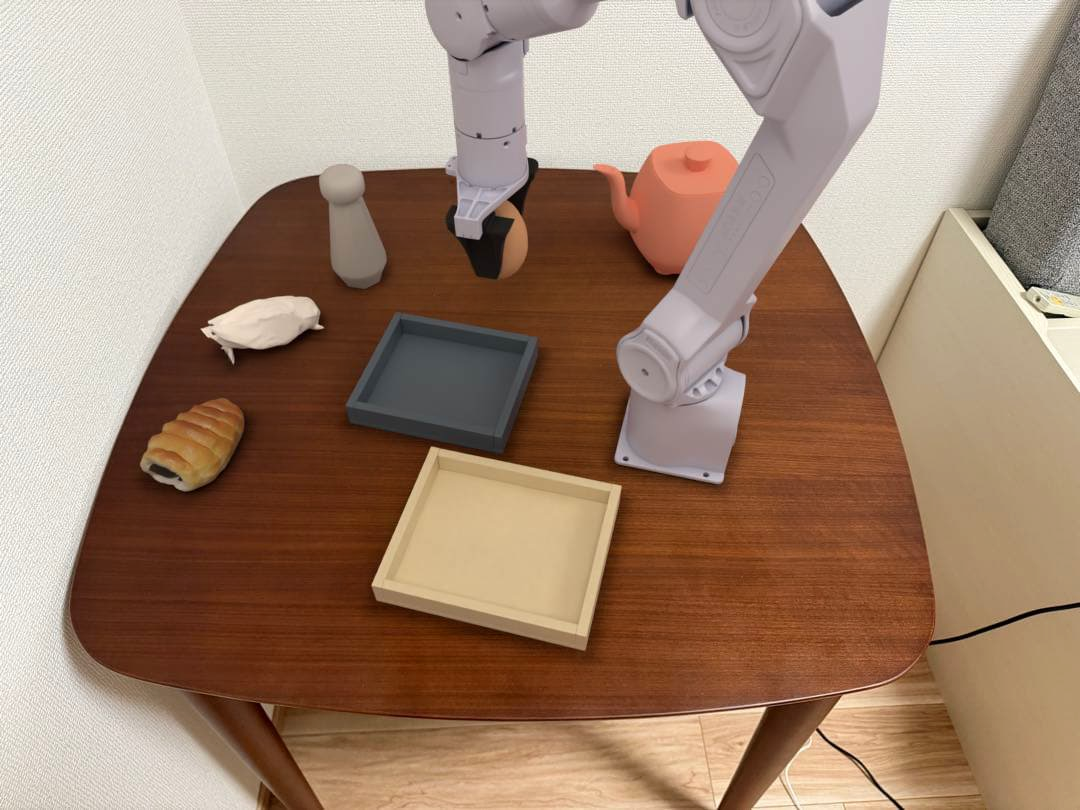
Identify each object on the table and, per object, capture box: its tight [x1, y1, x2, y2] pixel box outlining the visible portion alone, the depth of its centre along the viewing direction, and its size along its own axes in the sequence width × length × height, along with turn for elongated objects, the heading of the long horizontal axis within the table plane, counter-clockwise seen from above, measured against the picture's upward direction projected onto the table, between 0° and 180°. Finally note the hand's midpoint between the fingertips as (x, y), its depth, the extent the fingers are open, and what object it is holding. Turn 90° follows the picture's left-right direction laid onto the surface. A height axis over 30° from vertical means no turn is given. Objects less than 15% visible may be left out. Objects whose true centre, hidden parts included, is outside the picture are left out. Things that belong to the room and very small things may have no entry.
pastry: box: [139, 397, 245, 492], centre depth 72 cm, size 9×7×4 cm
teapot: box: [592, 140, 740, 276], centre depth 86 cm, size 13×20×12 cm, turn 100°
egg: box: [492, 200, 529, 280], centre depth 75 cm, size 6×6×8 cm
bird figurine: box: [200, 295, 325, 365], centre depth 80 cm, size 5×7×10 cm
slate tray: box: [345, 311, 539, 455], centre depth 77 cm, size 15×13×2 cm
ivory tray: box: [370, 446, 623, 652], centre depth 65 cm, size 17×14×2 cm
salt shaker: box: [318, 163, 388, 290], centre depth 83 cm, size 6×6×13 cm
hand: (497, 253), depth 76 cm, fingers closed on egg, 6 cm apart
